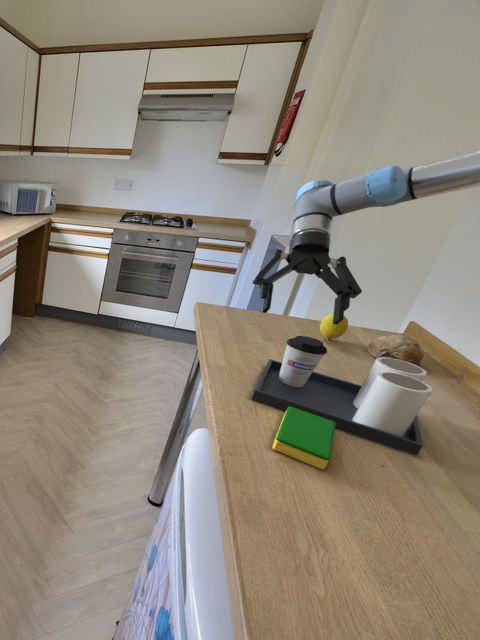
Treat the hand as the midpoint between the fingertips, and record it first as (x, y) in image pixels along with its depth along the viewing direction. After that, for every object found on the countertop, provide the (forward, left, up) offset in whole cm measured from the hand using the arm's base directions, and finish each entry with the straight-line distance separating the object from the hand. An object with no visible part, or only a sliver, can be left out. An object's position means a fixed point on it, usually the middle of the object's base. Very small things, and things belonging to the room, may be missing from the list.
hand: (301, 316), depth 93 cm
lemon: (-8, -29, -13) cm, 32 cm away
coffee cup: (-3, +10, -12) cm, 16 cm away
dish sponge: (-7, +33, -13) cm, 36 cm away
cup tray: (-10, +14, -12) cm, 21 cm away
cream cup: (-17, +11, -12) cm, 23 cm away
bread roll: (-21, -27, -13) cm, 36 cm away
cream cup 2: (-17, +19, -12) cm, 28 cm away
